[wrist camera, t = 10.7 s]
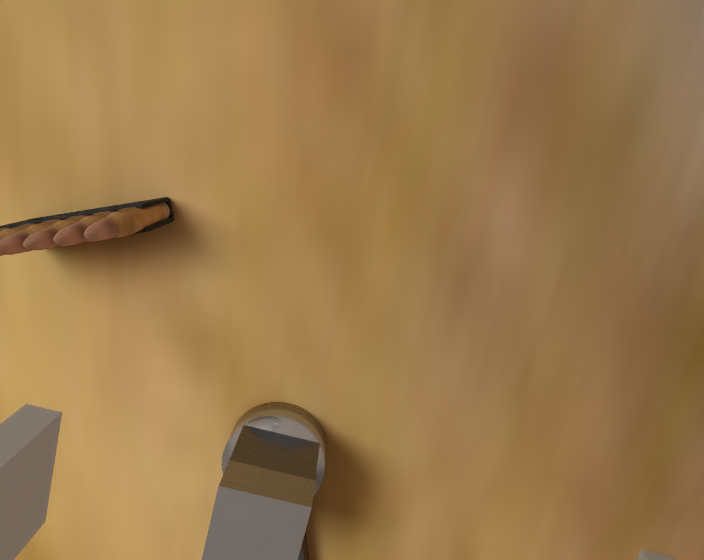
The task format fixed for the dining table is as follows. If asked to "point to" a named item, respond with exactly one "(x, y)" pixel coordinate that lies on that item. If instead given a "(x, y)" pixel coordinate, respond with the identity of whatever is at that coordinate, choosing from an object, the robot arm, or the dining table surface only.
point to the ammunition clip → (84, 226)
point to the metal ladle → (287, 423)
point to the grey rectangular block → (263, 498)
